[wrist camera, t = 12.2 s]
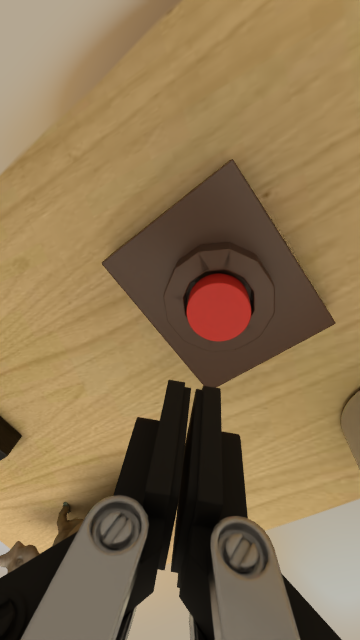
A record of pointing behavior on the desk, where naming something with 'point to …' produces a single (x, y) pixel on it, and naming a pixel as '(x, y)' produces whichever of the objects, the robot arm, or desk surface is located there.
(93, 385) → the desk surface
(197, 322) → the power button
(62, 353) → the desk surface
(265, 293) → the button housing
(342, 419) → the travel mug
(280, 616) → the robot arm
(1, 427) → the dial panel
